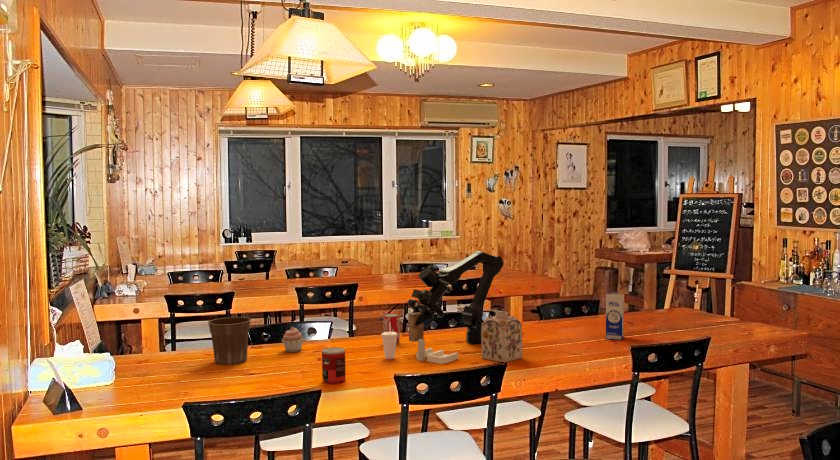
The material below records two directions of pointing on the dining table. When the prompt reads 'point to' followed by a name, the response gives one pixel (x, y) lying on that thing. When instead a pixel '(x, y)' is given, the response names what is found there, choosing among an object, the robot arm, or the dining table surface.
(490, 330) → the decorative jar
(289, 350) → the cupcake
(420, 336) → the brown long block
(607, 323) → the milk carton
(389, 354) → the smoothie
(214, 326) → the plant pot
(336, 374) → the canned food
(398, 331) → the soda can
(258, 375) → the dining table surface
